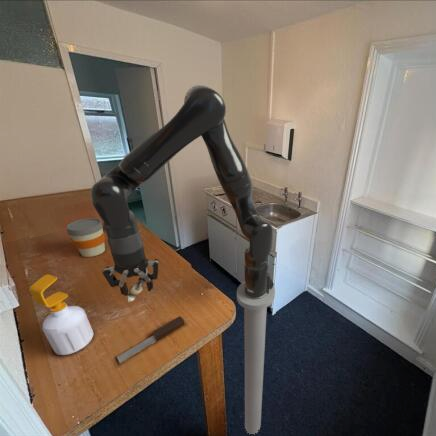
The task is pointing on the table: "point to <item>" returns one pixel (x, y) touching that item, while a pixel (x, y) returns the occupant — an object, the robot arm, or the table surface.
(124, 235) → the robot arm
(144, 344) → the knife
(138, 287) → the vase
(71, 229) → the reusable coffee cup
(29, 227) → the table surface
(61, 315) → the soap bottle
